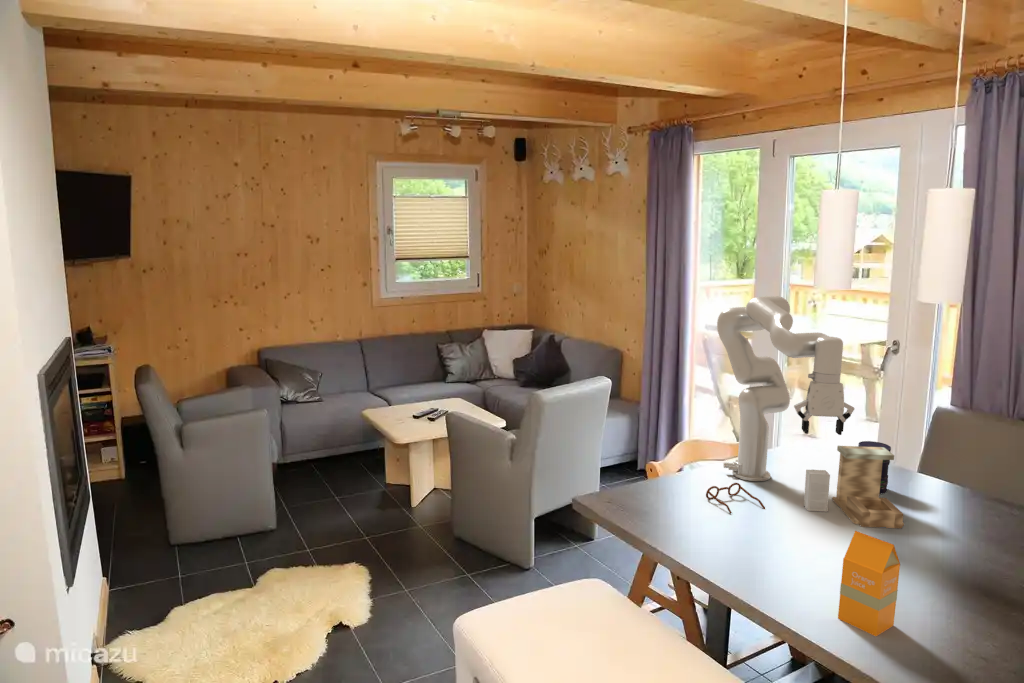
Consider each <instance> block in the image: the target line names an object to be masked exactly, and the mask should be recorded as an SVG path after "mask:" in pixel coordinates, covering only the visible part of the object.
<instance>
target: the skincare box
mask: <svg viewBox="0 0 1024 683" xmlns="http://www.w3.org/2000/svg"><path fill="white" fill-rule="evenodd" d="M830 478H831V474H830V473H829V472H828V471H827V469H826V470H825V469H806V470H805V482H804V496H803V497H804V499H803V507H804V506H805V507H804V508H805V509H806V511H808V512H809V511H810V512H825V513H826V512H828V508H829V505H828V504H829V494H830V492H829V491H830Z"/></svg>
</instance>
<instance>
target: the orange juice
mask: <svg viewBox="0 0 1024 683" xmlns="http://www.w3.org/2000/svg"><path fill="white" fill-rule="evenodd" d="M849 542H850V543H849V545H848V547H847V550H846V552H845V554H844V557H843V560H842V570H841V581H840V588H839V601H838V602H839V603H838V611H837V612H838V613H837V619H838V620H840V621H842V622H844V623H846V624H849V625H851V626H852V627H855V628H857V629H859V630H861V631H863V632H866V634H867V633H868V634H869V635H872V636H874V637H877V636H879V635H881V634H882V633H884V632H885V631H887V630H889V629H890V628H892V627H894V624H895V616H896V606H897V600H898V591H899V590H898V588H899V587H898V586H899V579H900V569H901V562H900V559H899V556H898V553H897V550H896V547H895V545H894V544H893V543H890V542H888V541H885V540H882V539H879V538H876V537H874V536H871V535H868V534H866V533H863V532H860V531H857V530H854V533H853V535H852V538H851V540H850V541H849Z"/></svg>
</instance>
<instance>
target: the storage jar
mask: <svg viewBox="0 0 1024 683" xmlns="http://www.w3.org/2000/svg"><path fill="white" fill-rule="evenodd" d="M857 445H858V446H860V447H884V448H885V449H887V450H888V451H889V452H891V451H892V447H891V446H890V445H889V444H886V443H883V442H878V441H871V440H867V441H866V440H865V441H863V440H862V441H859V442H858V444H857ZM890 463H891V460H883V463H882V473H881V483H880V493H879V495H882V494H881V493H884V494H886V493H887V492H886V491H888V490H887V488H888V484H889V473H888V472H889V465H890ZM885 492H886V493H885Z"/></svg>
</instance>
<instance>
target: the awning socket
mask: <svg viewBox="0 0 1024 683" xmlns="http://www.w3.org/2000/svg"><path fill="white" fill-rule="evenodd" d="M836 450H837V452H839V461H838V462H839V464H838V472H837V475H838V476H837V485H836V486H837V487H836V496H832V498H831V500H832V499H833V500H832V501H833V502H834V503H835V504H836V505H837V507H838V508H839V509H840V510H841V511H842V512H843V513H844V514H845V515H846V516H847V518H848V519H849V518H850V519H849V520H850V521H851V522H852V523H853V524H855V525H858V526H860V527H863V528H880V527H886V528H885V529H901V528H903V527H904V526H905V522H903V520H904V513H903V511H901V510H900V509H899V508H898V507H897V506H895V505H894V503H893V502H892V501H890V500H889V499H888V498H887V497H880V494H879V493H880V483H881V473H882V463H883V460H890V461H894V460H895V455H894V454H893V452H891V451H890V452H889V451H888V450H887V449H885V448H884V447H860V446H856V445H855V446H854V445H853V446H852V445H837V449H836Z"/></svg>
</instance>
